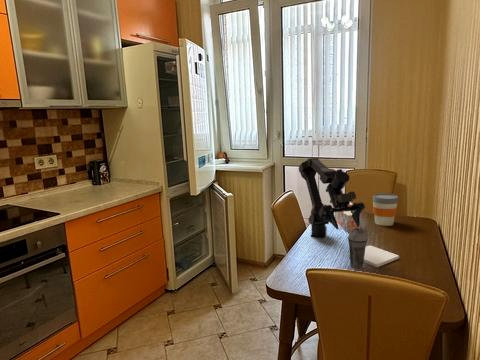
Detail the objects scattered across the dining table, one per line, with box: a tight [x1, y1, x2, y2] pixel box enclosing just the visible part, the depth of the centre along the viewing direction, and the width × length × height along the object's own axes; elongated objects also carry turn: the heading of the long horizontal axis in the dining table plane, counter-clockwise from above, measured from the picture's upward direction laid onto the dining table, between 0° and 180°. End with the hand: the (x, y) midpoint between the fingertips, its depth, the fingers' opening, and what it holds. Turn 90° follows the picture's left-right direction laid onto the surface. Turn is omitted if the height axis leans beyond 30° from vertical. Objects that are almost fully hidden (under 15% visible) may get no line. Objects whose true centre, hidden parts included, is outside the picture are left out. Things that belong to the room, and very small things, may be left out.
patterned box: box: [334, 201, 359, 234], centre depth 182 cm, size 21×6×12 cm, turn 1°
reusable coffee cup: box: [372, 193, 399, 227], centre depth 184 cm, size 13×13×15 cm
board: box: [347, 245, 400, 268], centre depth 144 cm, size 14×14×1 cm
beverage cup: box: [347, 217, 368, 270], centre depth 133 cm, size 7×7×20 cm
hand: (348, 227), depth 140 cm, fingers open, 9 cm apart
